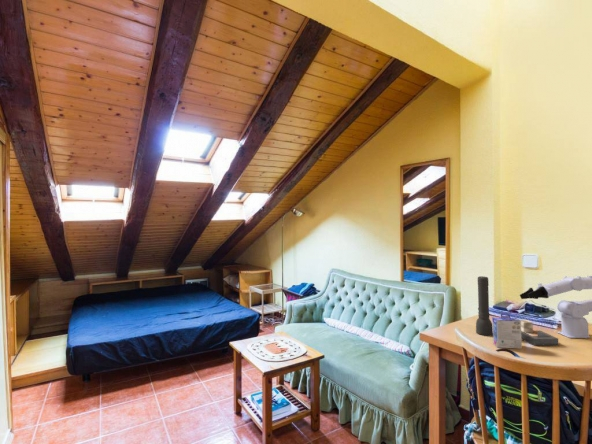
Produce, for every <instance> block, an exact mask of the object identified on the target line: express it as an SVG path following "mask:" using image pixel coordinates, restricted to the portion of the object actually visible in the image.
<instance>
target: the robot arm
mask: <svg viewBox="0 0 592 444" xmlns="http://www.w3.org/2000/svg"><path fill="white" fill-rule="evenodd" d="M537 285H538V286H537V287H536V288H535V290H534V288H533V287H529V288H528V289H527V290H526V291H524V292H522V293H521V294H519V296H520V298H521V300H526V299H527V300H528V299H535V300H538V299H541V298H542V299H549V297H552V296H557V295H560V294H564V293H567V292H571V291H577V292H580V291H582V290H592V275H587V276H582V277H581V276H579V275H578V276H577V275H576V277H574V276H573V277H572V276H565V277H562V279H561V280H560V279H559V280H557V281H553V282H549V283H546V284H542V282H541V283H540V282H539V283H537ZM556 307H557V311H559V313H560V317H561V318H560V320H561V324H560V325H561V331H560V330H559V331H558V330H557V331H556V333H557V334H559V335H563V336H564V337H567V338H570V339H581V338H582V339H585V338H586V339H590V338H591V336H590V335H589V322H588V320H587V318H585V316H588V315H589V314H590V313H591V312H592V299H587V300H581V301H580V300H579V301H578V300H561V301H559V302H558V303H557V305H556Z"/></svg>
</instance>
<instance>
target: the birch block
mask: <svg viewBox="0 0 592 444" xmlns="http://www.w3.org/2000/svg"><path fill="white" fill-rule="evenodd" d="M519 320H520V321H521V331H523V332H528V333H533V332H534V330H533V329H534V328H533V327H534V325H533V324H534V323H533V321H531V320H527V319H519Z"/></svg>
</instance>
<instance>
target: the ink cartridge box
mask: <svg viewBox="0 0 592 444" xmlns="http://www.w3.org/2000/svg"><path fill="white" fill-rule="evenodd" d="M499 314H500V317H499V316H498V317H497V316H496V317H491V318H492V328H493V335H492V336H493V340H492V341H493V345H494V346H496V348H501V349H503V348H504V349H519V350H521V349H523V346H522V345H523V344H522V343H523V342H522V341H523V340H522V339H521V321H520V320H521V319H519V318H517V317H511V316H510V312H500V313H499Z"/></svg>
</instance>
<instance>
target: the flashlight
mask: <svg viewBox="0 0 592 444" xmlns="http://www.w3.org/2000/svg"><path fill="white" fill-rule="evenodd" d="M489 286H490V285H489V277H487V276H478V277H477V298H478V301H477V303H478V308H477V309H478V317H477V319H476V323H475V334H477V335H480V336H484V337H492V336H493V321H491V319H490V302H489V301H490V300H489V298H490V297H489V293H490V292H489Z"/></svg>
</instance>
